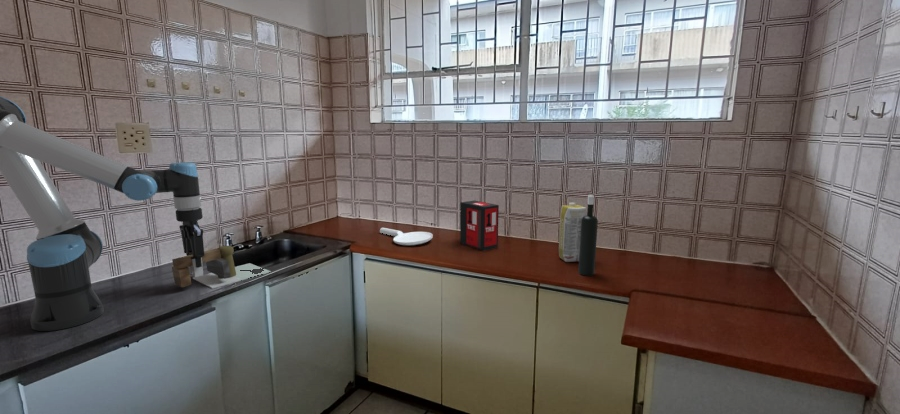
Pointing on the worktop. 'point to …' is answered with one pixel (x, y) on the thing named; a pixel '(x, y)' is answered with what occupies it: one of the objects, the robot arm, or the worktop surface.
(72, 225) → the robot arm
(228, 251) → the cork
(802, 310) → the worktop surface
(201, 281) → the plate
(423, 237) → the frying pan
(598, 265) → the worktop surface
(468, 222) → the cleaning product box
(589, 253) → the wine bottle
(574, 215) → the juice carton
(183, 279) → the wooden arch block
